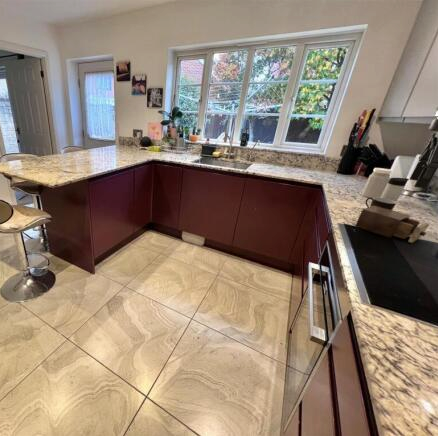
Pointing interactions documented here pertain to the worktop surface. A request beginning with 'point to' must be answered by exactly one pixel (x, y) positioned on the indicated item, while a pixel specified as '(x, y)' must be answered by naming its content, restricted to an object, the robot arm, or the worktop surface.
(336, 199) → the worktop surface
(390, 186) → the travel mug
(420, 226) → the drawer
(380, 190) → the jar
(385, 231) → the cabinet
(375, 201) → the coffee mug
